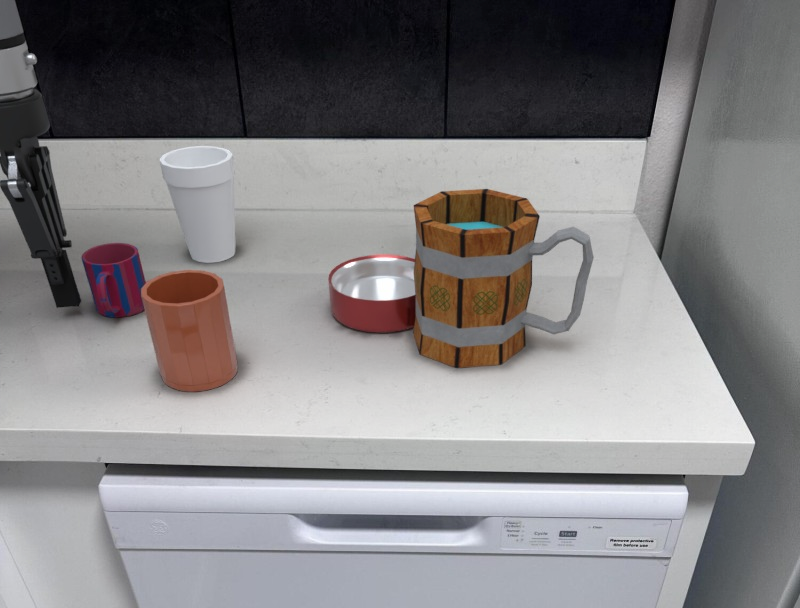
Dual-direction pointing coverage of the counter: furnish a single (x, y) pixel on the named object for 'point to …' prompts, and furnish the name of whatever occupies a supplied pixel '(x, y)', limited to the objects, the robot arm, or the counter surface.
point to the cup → (115, 279)
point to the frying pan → (374, 293)
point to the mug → (481, 276)
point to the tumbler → (190, 329)
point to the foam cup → (203, 199)
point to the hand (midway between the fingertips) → (69, 304)
